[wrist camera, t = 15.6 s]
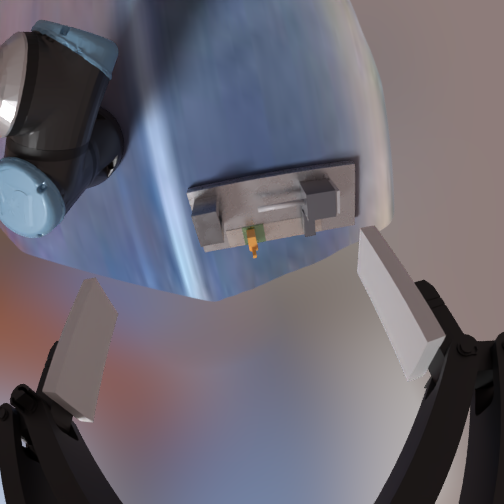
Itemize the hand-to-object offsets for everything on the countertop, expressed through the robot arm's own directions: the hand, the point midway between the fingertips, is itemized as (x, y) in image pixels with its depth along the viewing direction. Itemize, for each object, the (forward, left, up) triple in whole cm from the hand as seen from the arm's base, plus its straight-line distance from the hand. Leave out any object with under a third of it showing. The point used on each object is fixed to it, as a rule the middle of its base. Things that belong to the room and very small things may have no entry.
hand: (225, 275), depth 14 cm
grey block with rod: (+9, -19, -37) cm, 42 cm away
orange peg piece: (0, -22, -36) cm, 43 cm away
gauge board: (+6, -18, -39) cm, 43 cm away
